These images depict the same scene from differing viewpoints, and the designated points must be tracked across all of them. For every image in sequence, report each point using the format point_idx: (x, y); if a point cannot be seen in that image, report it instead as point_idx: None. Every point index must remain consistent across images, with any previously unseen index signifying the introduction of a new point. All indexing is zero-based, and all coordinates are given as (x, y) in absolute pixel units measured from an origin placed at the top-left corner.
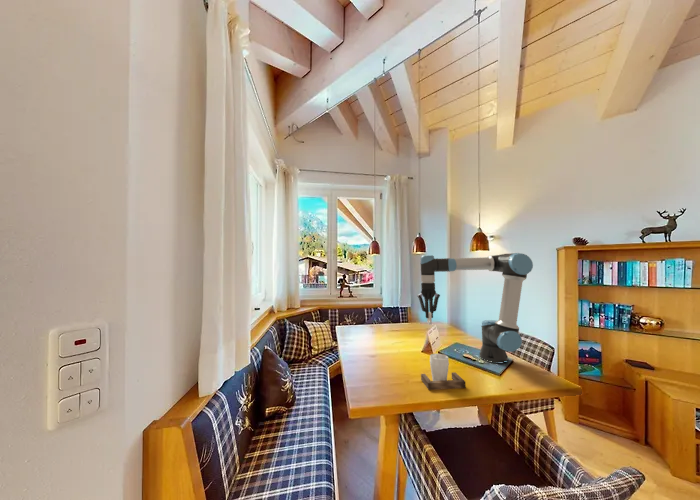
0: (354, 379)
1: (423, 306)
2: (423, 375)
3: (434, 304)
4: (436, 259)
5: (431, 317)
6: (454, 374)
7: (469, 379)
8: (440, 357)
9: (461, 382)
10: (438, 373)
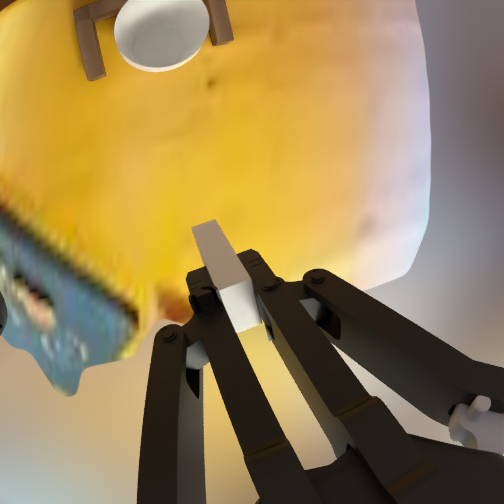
0: (414, 58)
1: (362, 306)
2: (226, 27)
3: (189, 414)
4: None
5: (204, 259)
6: (95, 58)
7: (44, 89)
8: (145, 69)
9: (88, 5)
10: (170, 7)
